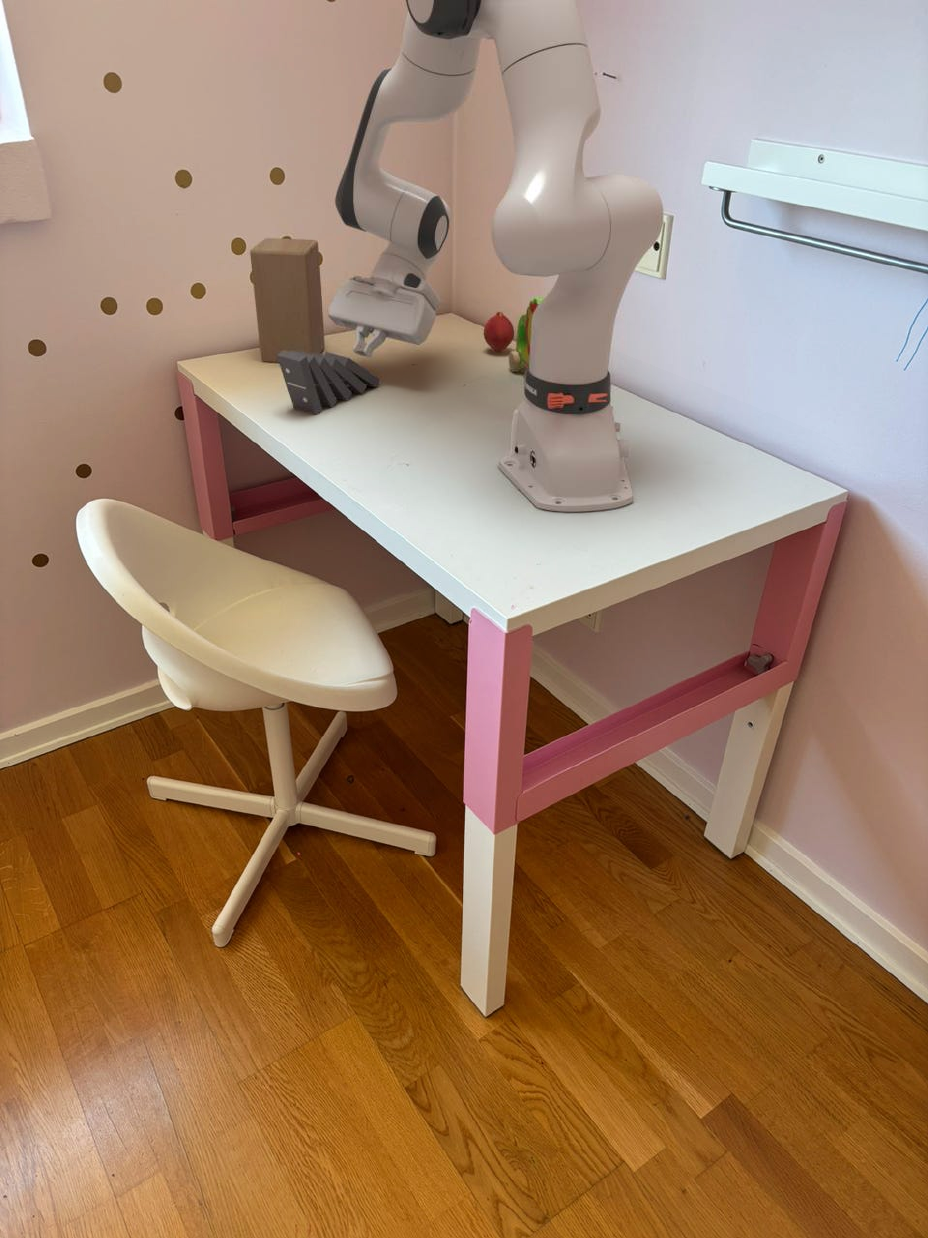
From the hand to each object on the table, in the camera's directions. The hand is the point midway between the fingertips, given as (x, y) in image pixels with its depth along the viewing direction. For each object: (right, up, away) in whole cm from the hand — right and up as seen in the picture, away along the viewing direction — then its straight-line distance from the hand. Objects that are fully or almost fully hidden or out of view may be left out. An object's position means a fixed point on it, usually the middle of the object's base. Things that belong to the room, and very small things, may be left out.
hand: (360, 353), depth 164 cm
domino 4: (-1, -5, +1) cm, 6 cm away
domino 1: (-8, -11, -6) cm, 15 cm away
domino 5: (+1, -4, +4) cm, 5 cm away
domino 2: (-6, -9, -4) cm, 11 cm away
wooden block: (-15, +4, +17) cm, 23 cm away
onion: (+24, +6, +20) cm, 32 cm away
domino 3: (-4, -7, -1) cm, 8 cm away
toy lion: (+30, -3, +7) cm, 31 cm away
